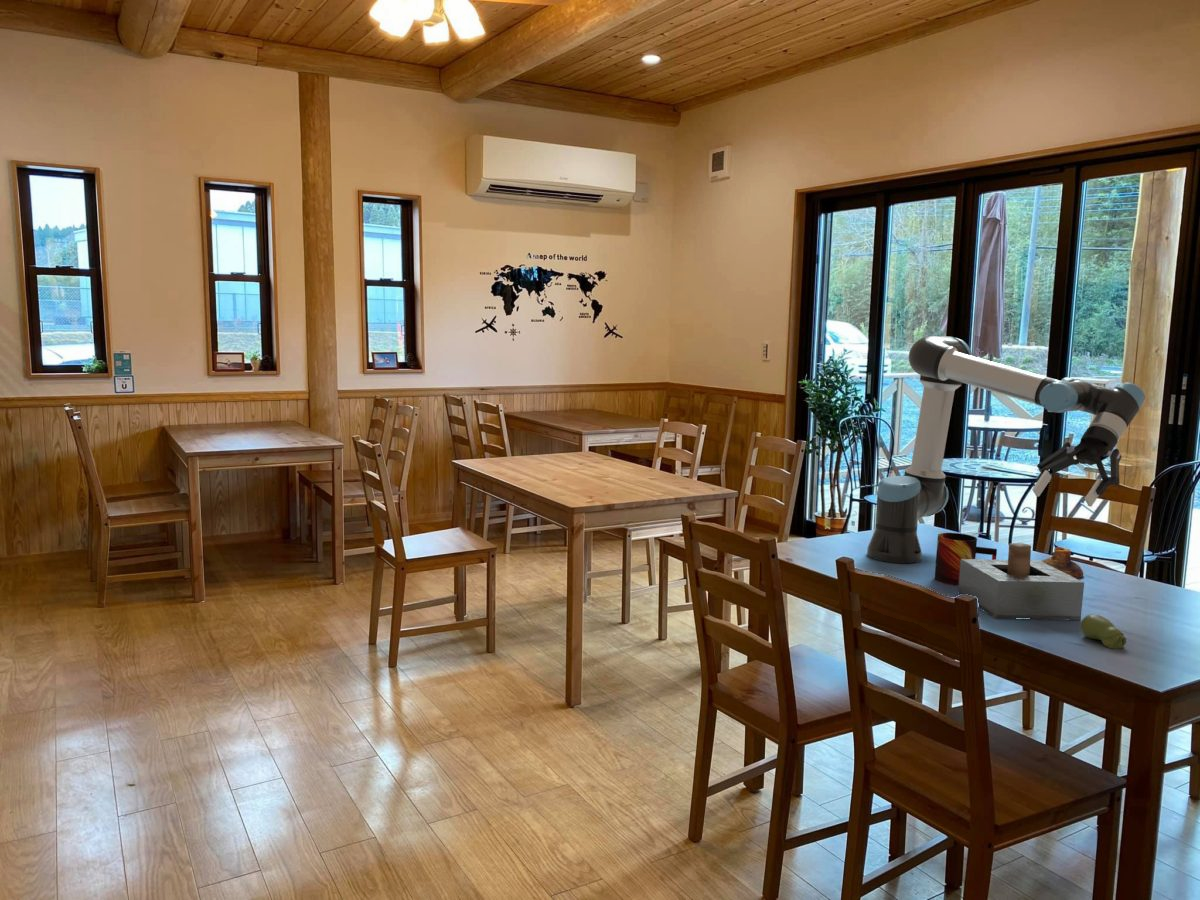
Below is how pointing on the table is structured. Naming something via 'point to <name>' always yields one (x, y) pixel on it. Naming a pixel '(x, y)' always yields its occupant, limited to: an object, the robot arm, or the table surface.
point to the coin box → (1021, 590)
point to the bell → (1064, 562)
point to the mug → (956, 555)
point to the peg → (1019, 559)
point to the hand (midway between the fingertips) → (1060, 497)
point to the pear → (1103, 631)
